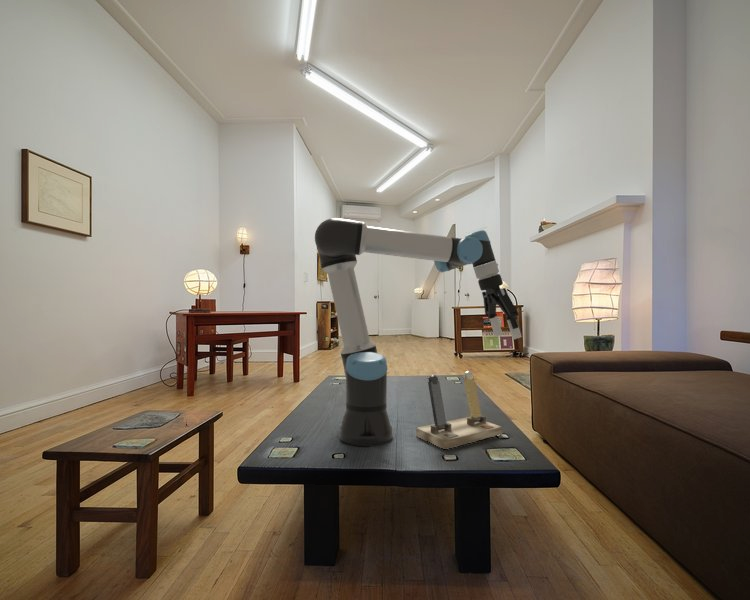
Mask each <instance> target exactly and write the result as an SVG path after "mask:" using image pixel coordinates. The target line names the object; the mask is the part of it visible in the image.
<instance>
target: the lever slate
mask: <svg viewBox="0 0 750 600" xmlns="http://www.w3.org/2000/svg"><path fill="white" fill-rule="evenodd" d="M427 383H428V390H429V397H430V402H431V410H432V416H433V422H434V423H433V424H435V426H437V427H438V430H443V429H446V428H447V424H446V421H447V418H446V414H445V408H444V401H443V396H442V390H441V383H440V380H439V378H438V376H437V375H435V374H432V375H430V376H429V377H428V382H427Z"/></svg>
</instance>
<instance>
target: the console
mask: <svg viewBox="0 0 750 600" xmlns="http://www.w3.org/2000/svg"><path fill="white" fill-rule="evenodd" d="M481 417H482V421H479V422H475V419H473V418H471V416H470V415H469V416H467V417H462V418H457V419H456V418H455V419H452V420H446V424H447V428H446V429H443V430H438V427H437V426H435V423H433V424H428V425H423V426H419V427H416V428H415V430H416V434H415V435H416V436H415V437H417V438H418V439H420V438H421V440H422V439H423V441H425V442H427V441H428V442H427V443H429V442H430V443H429V444H431V443H432V444H431V445H433V444H434V445H433V446H435V445H436V446H435V447H437V446H439V447H441V448H444V449H447V448H451V447H454V446H458V445H462V444H466V443H469V442H473V441H477V440H481V439H484V438H488V437H492V436H495V435H499V434H502V435H503V427H502V426H501V425H498V424H495V423H492V422H489V421H487V417H486V416H485V415H482V414H481ZM439 447H438V448H439ZM441 448H440V449H441Z"/></svg>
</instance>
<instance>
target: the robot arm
mask: <svg viewBox="0 0 750 600" xmlns="http://www.w3.org/2000/svg"><path fill="white" fill-rule="evenodd" d="M314 243H315V246H316V251H317V254H318V258H319V263H320V267H321V270H322V271H323V272H324V273H326V274H327V277H328V281H329V286H330V290H331V294H332V300H333V303H334V307H335V312H336V316H337V321H338V325H339V331H340V334H341V338H342V344H343V347H342V349H341V350H340V356H341V360H342V361H341V362H342V365H343V370H344V377H345V386H346V387H345V412H344V415H343V419H342V423H341V426H340V427H339V439H340V440H341V442H343V443H345V444H347V445H351V446H356V447H375V446H381V445H384V444H387V443H389V442H390V441H392V439H393V427H392V425H391V421H390V418H389V415H388V413H389V412H388V409H387V405H388V404H387V400H388V397H387V394H388V393H387V389H388V388H387V386H388V384H387V382H388V380H387V378H388V376H387V375H388V374H387V373H388V365H387V364H388V361H387V358H386V357H385V356H384V355H383V354H380V353H378V350H377V345H376V343H374V342H373V341H372V340H370V336H369V331H368V326H367V323H366V316H365V314H364V309H363V304H362V300H361V299H362V298H361V295H360V291H359V287H358V282H357V276H356V273H355V267H356V265H357V263H358V260H357V256H361V255H362V254H364V253H367V254H368V253H369V254H376V255H377V254H378V255H384V256H393V257H400V258H409V259H418V260H425V261H433V262H434V265H435V268H436V270H437V271H438V272H440V273H445V272H450V271H451V270H455V269H458V268H461V267H464V266H467V265H472V268H473V271H474V275H475V278H476V279H478V281H477V282H478V286H479V289H480V290H481V291H482V292H481V293H482V298H483V306H484V314H485V317H486V318H488V320H489V322H490V324H491V328H492V331H493V334H494V337H499V336H502V335H503V334H504V333H503V330H502V328H501V327H502V326H501V324H500V321H499V318H498V313H497V306H498V307H499V308H500V310H501V311H502V312H503V314H504V315H505V317H506V319H505V320H506V321H507V326H508V328H509V331H510V334H511V337H512V340H513V341H514V340H517V339H520V338H522V332H521V330H520V326H519V324H518V320H517V317H518V316H519V312H518V310H517V308H516V307H515V305H514V303H513V301H512V299H511V298H510V296H509V295H508V291H507V289H506V287H504V288H501V287H500V286H502V285H503V284H504V282H503V278H502V276H501V274H500V270H499V267H498V266H499V264H498V263H497V261H496V258H495V254H494V251H493V247H492V244H491V240H490V238H489V236H488V233H487V231H486V230H484V229H483V230H482V229H481V230H477V231H474V232H471V233H469V234H467V235H465V236H464V237H463V238H461V237H459V238H458V237H450V236H443V235H438V234H437V235H436V234H431V233H430V234H428V233H421V232H414V231H406V230H400V229H399V230H398V229H391V228H384V227H375V226H369V225H367V224H366V223H365V222H364V221H359V220H358V221H357V220H352V219H346V218H338V217H334V218H333V217H332V218H328V219H325V220H323V221H322V222H321V223H319V224H318V226H317V228H316V230H315V232H314Z"/></svg>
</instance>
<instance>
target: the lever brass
mask: <svg viewBox="0 0 750 600" xmlns="http://www.w3.org/2000/svg"><path fill="white" fill-rule="evenodd" d="M463 381H464V389H465V393H466V398H467V399H466V401H467V404H468V409H469V417H470V416H471V418H473V419H475V422H479V421H482V417H481V415H482V411H481V406H480V402H479V396H478V391H477V388H476V387H477V385H476V381H475V376H474V373H473V372H472V371H470V370H467V371H464V373H463Z"/></svg>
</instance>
